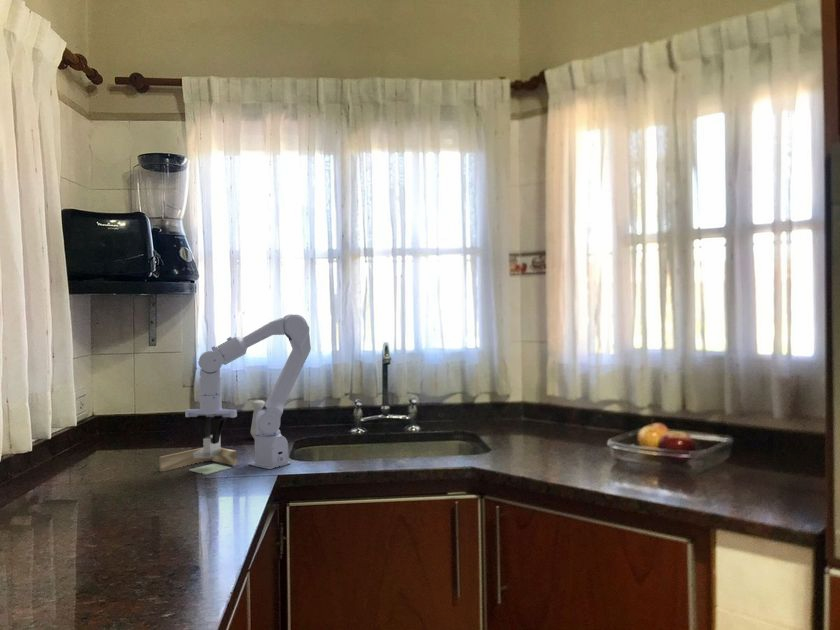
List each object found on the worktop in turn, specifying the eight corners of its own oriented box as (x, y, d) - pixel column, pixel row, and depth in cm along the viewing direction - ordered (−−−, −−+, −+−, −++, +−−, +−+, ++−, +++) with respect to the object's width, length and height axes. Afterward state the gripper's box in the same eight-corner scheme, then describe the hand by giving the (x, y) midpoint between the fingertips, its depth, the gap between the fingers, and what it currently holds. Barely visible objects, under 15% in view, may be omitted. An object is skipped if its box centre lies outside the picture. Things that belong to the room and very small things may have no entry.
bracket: (210, 458, 172) (210, 438, 172) (193, 458, 172) (193, 438, 172) (220, 453, 178) (220, 434, 178) (204, 452, 178) (203, 433, 178)
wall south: (237, 464, 180) (237, 450, 180) (233, 465, 179) (233, 451, 179) (212, 459, 187) (212, 445, 187) (209, 459, 186) (208, 446, 186)
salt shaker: (265, 439, 214) (264, 401, 214) (248, 439, 214) (247, 402, 214) (269, 436, 220) (269, 399, 220) (253, 436, 220) (252, 399, 220)
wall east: (212, 459, 186) (211, 446, 186) (162, 471, 174) (161, 457, 174) (209, 459, 187) (209, 445, 187) (159, 471, 174) (159, 456, 174)
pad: (231, 468, 176) (230, 467, 176) (205, 474, 170) (205, 473, 170) (214, 464, 181) (214, 463, 181) (189, 470, 174) (189, 469, 174)
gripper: (241, 392, 177) (242, 440, 177) (193, 392, 179) (194, 439, 180) (230, 396, 170) (231, 445, 170) (180, 395, 172) (181, 444, 173)
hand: (211, 442), depth 174 cm, fingers closed on bracket
